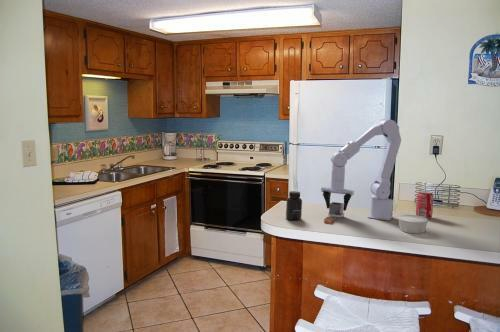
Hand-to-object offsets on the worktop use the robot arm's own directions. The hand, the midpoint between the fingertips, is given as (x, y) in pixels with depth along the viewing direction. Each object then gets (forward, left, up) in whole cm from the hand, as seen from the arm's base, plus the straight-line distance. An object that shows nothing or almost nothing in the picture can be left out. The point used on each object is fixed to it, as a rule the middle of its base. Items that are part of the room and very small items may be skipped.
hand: (336, 209), depth 188 cm
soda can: (-35, -20, -4) cm, 40 cm away
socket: (0, 0, -2) cm, 2 cm away
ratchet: (0, +5, -4) cm, 6 cm away
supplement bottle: (+15, +14, -4) cm, 21 cm away
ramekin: (-33, +5, -4) cm, 34 cm away
